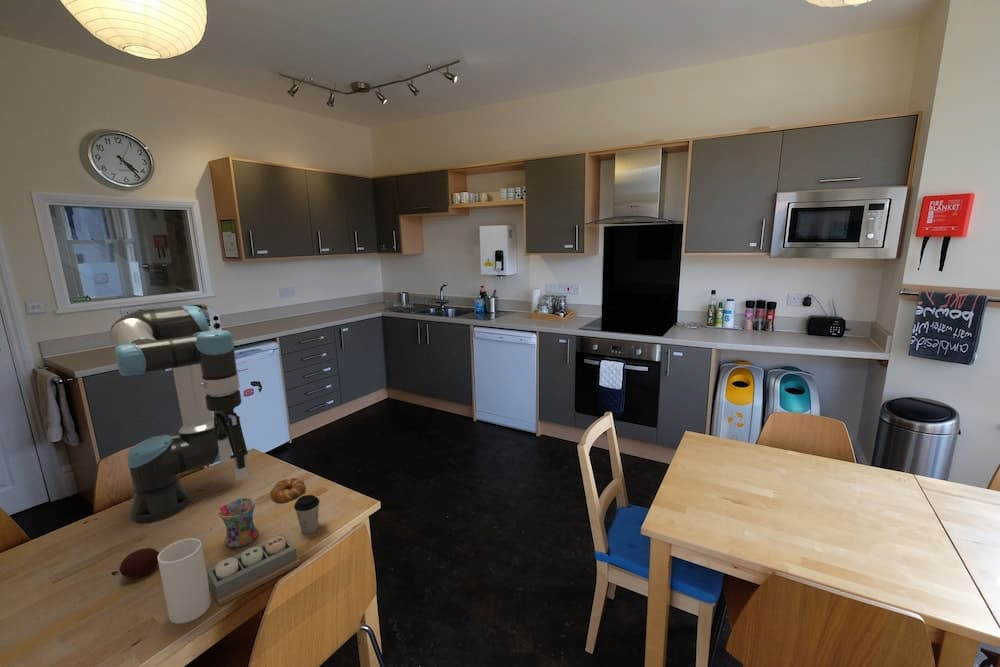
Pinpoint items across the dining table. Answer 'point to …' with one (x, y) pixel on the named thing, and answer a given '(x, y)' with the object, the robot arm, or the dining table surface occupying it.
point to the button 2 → (251, 556)
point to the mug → (239, 521)
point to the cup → (184, 580)
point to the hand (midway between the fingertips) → (234, 469)
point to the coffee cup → (307, 513)
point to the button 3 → (275, 545)
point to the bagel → (287, 490)
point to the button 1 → (226, 568)
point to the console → (252, 573)
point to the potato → (139, 562)
